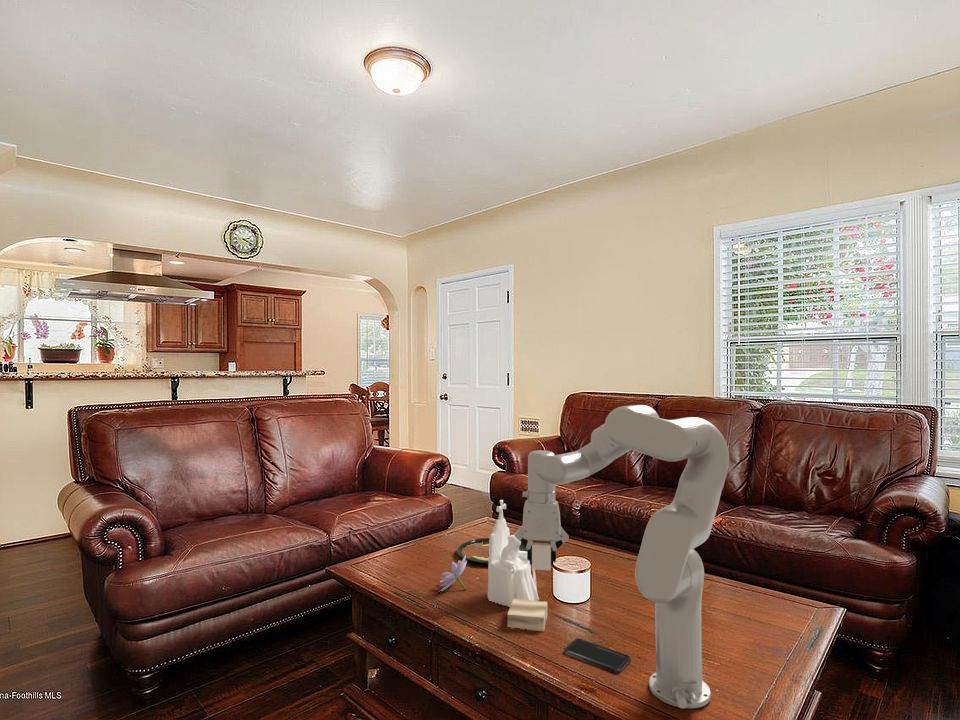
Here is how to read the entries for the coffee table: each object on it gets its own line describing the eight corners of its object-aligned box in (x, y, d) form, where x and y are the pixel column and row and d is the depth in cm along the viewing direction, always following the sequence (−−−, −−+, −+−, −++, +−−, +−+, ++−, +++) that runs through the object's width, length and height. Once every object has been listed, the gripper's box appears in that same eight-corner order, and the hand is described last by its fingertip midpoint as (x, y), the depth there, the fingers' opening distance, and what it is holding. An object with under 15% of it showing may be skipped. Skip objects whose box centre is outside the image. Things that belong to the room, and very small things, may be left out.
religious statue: (522, 614, 152) (523, 511, 152) (484, 602, 160) (485, 503, 160) (551, 593, 166) (551, 499, 166) (514, 583, 174) (515, 492, 174)
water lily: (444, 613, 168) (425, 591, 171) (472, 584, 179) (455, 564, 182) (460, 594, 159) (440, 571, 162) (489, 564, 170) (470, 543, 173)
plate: (541, 550, 206) (541, 544, 206) (507, 574, 182) (507, 567, 183) (481, 539, 221) (481, 533, 221) (442, 560, 197) (442, 553, 197)
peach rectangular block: (550, 570, 140) (550, 543, 140) (531, 569, 140) (532, 542, 141) (551, 563, 145) (551, 537, 145) (533, 562, 145) (533, 536, 145)
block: (544, 632, 142) (543, 617, 142) (507, 629, 144) (507, 614, 144) (547, 615, 151) (547, 601, 152) (513, 612, 154) (513, 598, 154)
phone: (618, 671, 121) (562, 649, 131) (618, 676, 121) (562, 654, 131) (632, 656, 127) (577, 637, 137) (632, 661, 127) (577, 641, 137)
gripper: (509, 498, 140) (509, 566, 140) (573, 501, 138) (573, 570, 138) (511, 492, 148) (511, 556, 148) (573, 494, 145) (573, 560, 145)
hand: (541, 562), depth 143 cm, fingers closed on peach rectangular block, 5 cm apart
